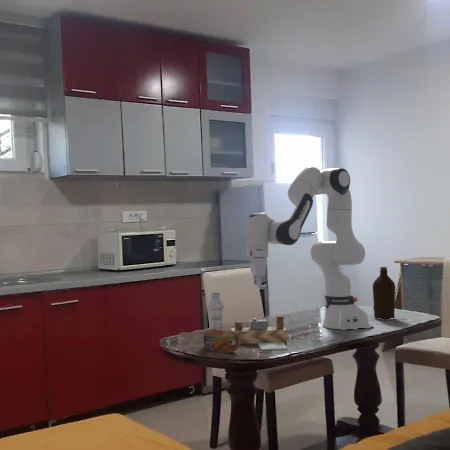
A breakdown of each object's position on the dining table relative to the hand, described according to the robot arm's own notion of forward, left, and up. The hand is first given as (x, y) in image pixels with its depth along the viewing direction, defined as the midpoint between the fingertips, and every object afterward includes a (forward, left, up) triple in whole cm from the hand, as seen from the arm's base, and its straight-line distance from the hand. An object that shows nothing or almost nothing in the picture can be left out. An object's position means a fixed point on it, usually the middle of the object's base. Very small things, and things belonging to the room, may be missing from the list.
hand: (257, 285), depth 238 cm
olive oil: (-67, -39, -23) cm, 81 cm away
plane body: (0, +2, -22) cm, 22 cm away
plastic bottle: (+17, +1, -23) cm, 28 cm away
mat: (-4, +13, -22) cm, 26 cm away
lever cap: (0, +2, -17) cm, 17 cm away
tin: (+16, +17, -23) cm, 33 cm away
